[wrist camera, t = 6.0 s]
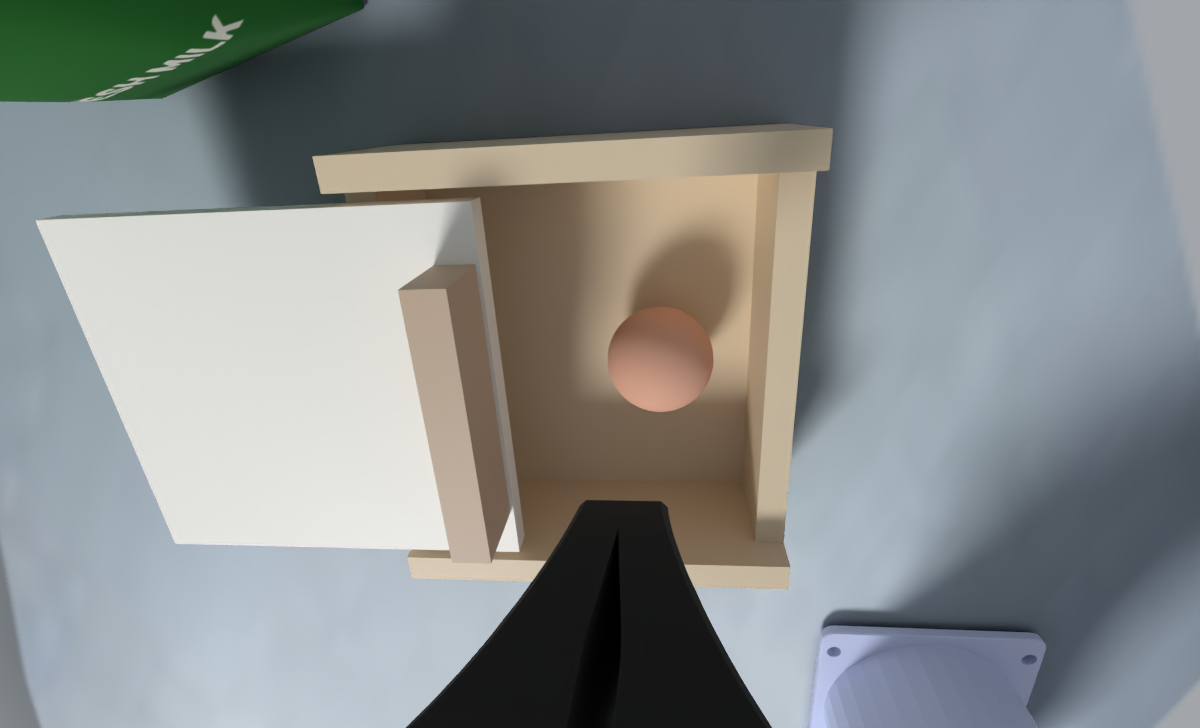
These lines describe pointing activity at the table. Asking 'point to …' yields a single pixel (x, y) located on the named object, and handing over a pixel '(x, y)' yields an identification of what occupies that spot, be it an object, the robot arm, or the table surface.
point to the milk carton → (141, 43)
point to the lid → (305, 370)
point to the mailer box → (616, 291)
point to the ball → (660, 359)
